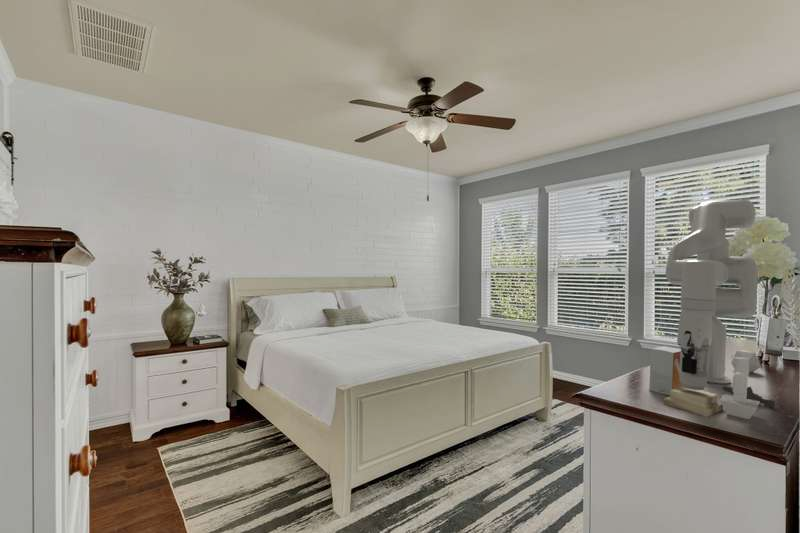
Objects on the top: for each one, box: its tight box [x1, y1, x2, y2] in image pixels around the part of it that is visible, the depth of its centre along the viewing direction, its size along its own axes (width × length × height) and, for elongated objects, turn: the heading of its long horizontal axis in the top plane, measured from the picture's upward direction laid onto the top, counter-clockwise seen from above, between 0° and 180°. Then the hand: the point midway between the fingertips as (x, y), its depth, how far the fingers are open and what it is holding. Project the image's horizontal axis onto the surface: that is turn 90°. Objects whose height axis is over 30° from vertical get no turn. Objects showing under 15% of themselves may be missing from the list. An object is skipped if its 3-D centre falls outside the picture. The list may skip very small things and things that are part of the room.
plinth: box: [663, 386, 724, 417], centre depth 106 cm, size 10×10×4 cm
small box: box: [648, 345, 682, 397], centre depth 119 cm, size 8×6×13 cm
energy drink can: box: [679, 338, 709, 391], centre depth 106 cm, size 6×6×15 cm
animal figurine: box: [721, 385, 776, 409], centre depth 111 cm, size 12×4×5 cm, turn 43°
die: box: [729, 349, 761, 374], centre depth 145 cm, size 8×9×10 cm
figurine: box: [719, 357, 760, 420], centre depth 101 cm, size 7×9×15 cm
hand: (694, 370), depth 106 cm, fingers closed on energy drink can, 6 cm apart
